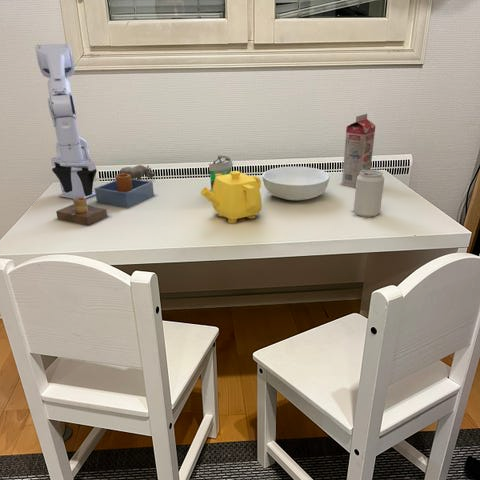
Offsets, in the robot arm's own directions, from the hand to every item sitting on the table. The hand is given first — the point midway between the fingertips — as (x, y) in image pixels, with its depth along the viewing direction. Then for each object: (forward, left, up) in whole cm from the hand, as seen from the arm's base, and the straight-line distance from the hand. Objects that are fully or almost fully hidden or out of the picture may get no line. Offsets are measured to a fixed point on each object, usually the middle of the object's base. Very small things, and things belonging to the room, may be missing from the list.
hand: (78, 193), depth 143 cm
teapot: (+38, +21, -8) cm, 44 cm away
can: (+72, +40, -8) cm, 83 cm away
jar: (-1, +20, -7) cm, 21 cm away
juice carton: (+60, +67, -8) cm, 90 cm away
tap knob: (0, 0, -5) cm, 5 cm away
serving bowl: (+47, +46, -8) cm, 66 cm away
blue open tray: (-1, +20, -8) cm, 22 cm away
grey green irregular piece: (+23, +42, -8) cm, 48 cm away
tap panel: (-1, +1, -8) cm, 8 cm away
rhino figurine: (-9, +37, -8) cm, 39 cm away
